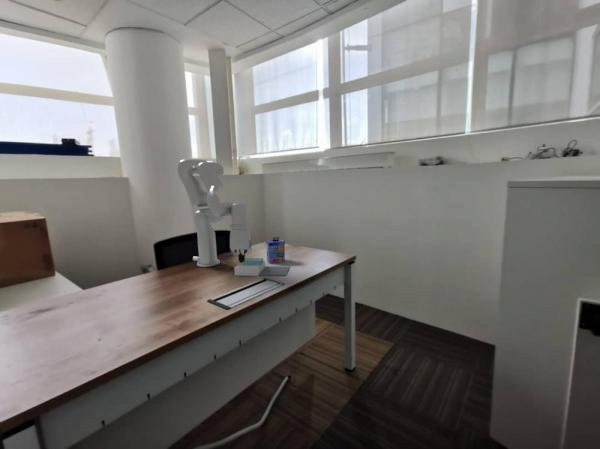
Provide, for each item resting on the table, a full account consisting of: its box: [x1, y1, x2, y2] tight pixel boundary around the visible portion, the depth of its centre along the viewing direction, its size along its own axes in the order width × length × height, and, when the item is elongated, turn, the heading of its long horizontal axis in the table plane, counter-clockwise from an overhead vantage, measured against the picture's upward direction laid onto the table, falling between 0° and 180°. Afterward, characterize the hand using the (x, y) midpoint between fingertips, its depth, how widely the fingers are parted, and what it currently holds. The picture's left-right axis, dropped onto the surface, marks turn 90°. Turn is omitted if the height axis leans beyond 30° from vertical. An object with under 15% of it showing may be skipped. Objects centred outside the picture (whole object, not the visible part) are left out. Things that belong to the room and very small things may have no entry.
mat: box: [259, 265, 291, 277], centre depth 142 cm, size 13×14×1 cm
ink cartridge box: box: [265, 236, 286, 264], centre depth 159 cm, size 10×6×14 cm, turn 115°
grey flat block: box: [234, 259, 266, 277], centre depth 143 cm, size 12×14×4 cm
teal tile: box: [243, 257, 264, 265], centre depth 143 cm, size 9×6×2 cm, turn 84°
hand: (241, 261), depth 143 cm, fingers closed
